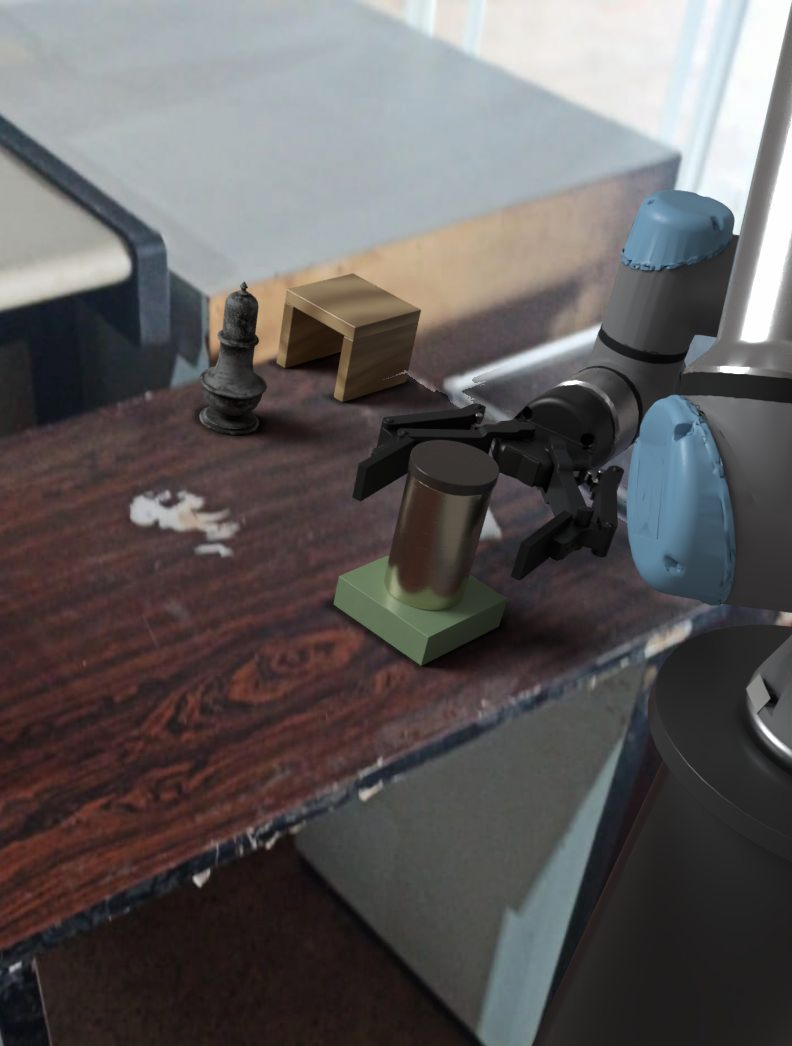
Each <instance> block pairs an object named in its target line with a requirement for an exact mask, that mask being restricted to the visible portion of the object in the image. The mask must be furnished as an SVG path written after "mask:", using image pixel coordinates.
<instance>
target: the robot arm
mask: <svg viewBox="0 0 792 1046" xmlns="http://www.w3.org/2000/svg"><path fill="white" fill-rule="evenodd" d="M779 51H780V52H779V56H778V59H777V60H778V61H777V65H776V70H775V74H774V78H773V83H772V89H771V92H770V97H769V101H768V105H767V110H766V114H765V118H764V124H763V127H762V131H761V136H760V137H761V138H760V142H759V144H758V145H759V146H758V150H757V155H756V159H755V164H754V169H753V173H752V176H751V182H750V186H749V190H748V195H747V199H746V204H745V207H744V212H743V217H742V221H741V226H740V231H739V234H734V227H735V215H734V213H733V211H732V210H731V208H729V207H728V206H727V205H726V204H725V203H723V202H721V201H719V200H717V199H716V198H712V197H710V196H703V195H701V194H699V193H697V192H693V191H688V190H680V189H664V190H659V191H656V192H654V193H652V194H650V195H648V196H647V197H646V198H645V199H644V200H643V201H642V203H641V204H640V206H639V209H638V211H637V213H636V216H635V217H634V220H633V222H632V226H631V227H630V228H631V229H630V231H629V235H628V236H627V239H626V243H625V244H624V246H623V248H622V250H621V252H620V260H619V264H618V267H617V271H616V273H615V274H616V275H615V277H614V281H613V283H612V287H611V292H610V295H609V299H608V302H607V304H606V309H605V312H604V315H603V319H602V322H601V324H600V327H599V330H598V331H597V334H596V338H595V341H594V344H593V348H592V350H591V354H590V357H589V360H588V364H587V365H586V367H584V368H582V369H581V370H579V371H578V372H576V373H575V374H573V375H572V376H570V377H568V378H566V379H564V380H563V381H561V382H559V383H558V384H556V385H554V386H552V387H551V388H550V389H549V390H547V391H545V392H542V394H540V395H538V396H537V397H535V398H534V399H532V400H530V401H529V402H528V403H526V404H525V405H524V406H523V407H522V408H521V409H520V411H519V412H518V413H517V414H516V415H515V416H514V417H513V418H512V419H508V420H500V421H498V422H495V421H493V420H492V419H490V418H487V417H486V416H485V414H486V410H487V407H486V406H485V405H484V404H483V403H478V402H474V403H470V404H468V405H466V406H463V407H460V408H455V409H446V410H437V411H425V412H419V413H418V412H417V413H409V414H407V413H406V414H399V415H389V416H384V417H382V419H381V424H380V430H379V435H378V439H377V443H376V444H377V445H376V446H375V447H374V448H372V451H371V454H370V457H367V458H366V459H364V460H362V461H360V462H359V463H358V465H357V470H356V476H355V480H354V486H353V492H352V497H351V498H352V499H355V500H356V501H358V502H360V503H361V502H363V501H364V500H366V499H368V498H369V497H371V496H372V495H374V494H376V493H377V492H379V491H381V490H383V489H384V488H386V487H387V486H389V485H391V484H392V483H394V482H395V481H398V480H399V479H401V478H402V477H404V476H405V475H407V474H408V470H409V466H408V464H409V459H410V454H411V451H412V449H413V448H414V447H415V446H417V445H418V444H420V443H423V442H426V441H432V440H448V441H455V442H460V443H464V444H467V445H470V446H473V447H475V448H478V449H480V450H482V451H484V452H485V453H487V454H488V455H489V454H490V453H491V457H492V458H493V459H494V460H495V461H496V463H497V464H498V467H499V474H502V475H505V476H507V477H509V478H512V479H516V480H518V481H519V482H520V483H522V484H524V485H526V486H527V487H529V488H534V487H536V489H537V491H539V492H540V495H541V497H542V499H543V502H544V505H549V507H550V509H551V512H552V514H553V516H554V517H552V519H550V520H549V521H547V522H546V523H545V524H543V525H542V526H541V527H539V528H538V529H537V530H535V531H534V532H533V533H532V534H530V535H528V536H527V537H526V538H525V539H523V540H522V541H521V542H520V544H519V548H518V551H517V554H516V557H515V560H514V564H513V568H512V571H511V574H510V577H511V578H513V579H515V580H517V581H519V582H520V581H521V580H523V579H524V578H526V577H527V576H528V575H529V574H531V573H532V572H533V571H534V570H536V569H537V568H539V566H541V565H542V564H543V563H544V562H547V560H548V559H551V560H553V561H555V562H558V561H563V560H564V559H565V558H566V557H568V556H569V555H570V554H571V553H572V552H574V551H580V550H582V548H583V547H584V548H588V549H590V552H591V554H592V555H593V556H595V557H597V558H606V557H607V556H608V553H609V550H610V548H611V545H612V544H613V540H614V537H615V535H616V532H617V528H618V526H619V522H618V521H619V519H618V491H619V487H620V485H621V482H622V479H623V476H624V474H625V470H624V468H623V467H621V466H618V465H615V464H613V465H610V466H608V467H607V468H606V469H604V468H603V467H604V466H606V465H607V464H609V463H610V462H611V461H613V460H614V459H615V458H617V457H618V456H619V455H621V454H622V453H623V452H625V451H626V450H628V448H629V447H631V446H632V445H633V448H632V452H631V453H632V454H631V458H630V463H629V464H630V465H629V471H628V477H627V479H628V480H627V489H626V490H627V491H626V526H627V536H628V543H629V546H630V553H631V556H632V561H633V562H634V566H635V568H636V570H637V572H638V574H639V576H640V577H641V578H642V580H643V581H644V582H645V583H646V584H647V586H649V587H651V589H653V590H655V591H656V592H659V593H660V594H664V595H668V596H673V597H680V598H684V599H689V600H690V599H691V600H696V601H699V602H701V603H702V604H706V605H708V606H713V607H714V606H717V607H718V606H719V607H720V606H721V605H727V606H736V607H742V608H743V607H744V608H752V609H756V610H757V609H759V610H765V611H772V612H773V611H774V612H781V613H790V614H792V1H791V4H790V7H789V11H788V15H787V20H786V24H785V29H784V33H783V37H782V42H781V47H780V50H779ZM696 336H704V337H710V338H715V341H714V342H713V343H712V345H711V347H709V349H708V350H706V351H705V352H704V353H703V354H701V355H700V356H699V357H697V358H696V359H695V360H693V361H692V362H691V363H689V364H688V365H687V364H686V361H685V360H686V358H687V355H688V352H689V350H690V347H691V344H692V342H693V340H694V338H695V337H696ZM489 456H490V455H489ZM584 484H586V485H587V486H588V488H587V490H588V492H590V494H589V496H588V498H589V500H590V501H592V503H591V507H590V506H587V503H586V501H585V498H584V496H583V494H582V491H581V489H580V486H582V485H584ZM740 717H741V720H742V723H743V726H744V728H745V730H746V732H747V734H748V735H749V737H750V738H751V740H752V741H753V743H754V744H755V745H756V746H757V747H758V749H759V750H760V751H761V752H762V753H763V754H764V755H765V756H766V757H767V758H768V759H769V760H771V761H772V762H773V763H774V764H775V765H777V766H778V767H779V768H780V769H782V770H783V771H785V772H786V773H788V774H789V775H791V776H792V635H791V636H790V637H789V638H788V639H787V640H786V641H785V642H784V643H783V644H782V645H781V646H780V647H779V648H778V649H777V650H776V651H775V652H774V653H773V654H772V655H771V656H770V657H768V658H767V659H766V660H765V661H764V662H763V663H762V664H761V665H760V666H759V667H758V668H757V669H756V670H755V672H754V673H753V675H752V677H751V679H750V681H749V683H748V685H747V687H746V689H745V691H744V693H743V695H742V697H741V701H740Z"/></svg>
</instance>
